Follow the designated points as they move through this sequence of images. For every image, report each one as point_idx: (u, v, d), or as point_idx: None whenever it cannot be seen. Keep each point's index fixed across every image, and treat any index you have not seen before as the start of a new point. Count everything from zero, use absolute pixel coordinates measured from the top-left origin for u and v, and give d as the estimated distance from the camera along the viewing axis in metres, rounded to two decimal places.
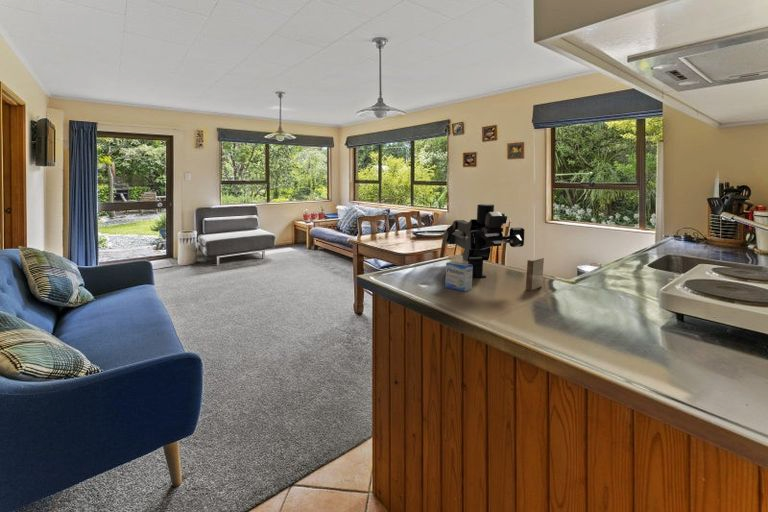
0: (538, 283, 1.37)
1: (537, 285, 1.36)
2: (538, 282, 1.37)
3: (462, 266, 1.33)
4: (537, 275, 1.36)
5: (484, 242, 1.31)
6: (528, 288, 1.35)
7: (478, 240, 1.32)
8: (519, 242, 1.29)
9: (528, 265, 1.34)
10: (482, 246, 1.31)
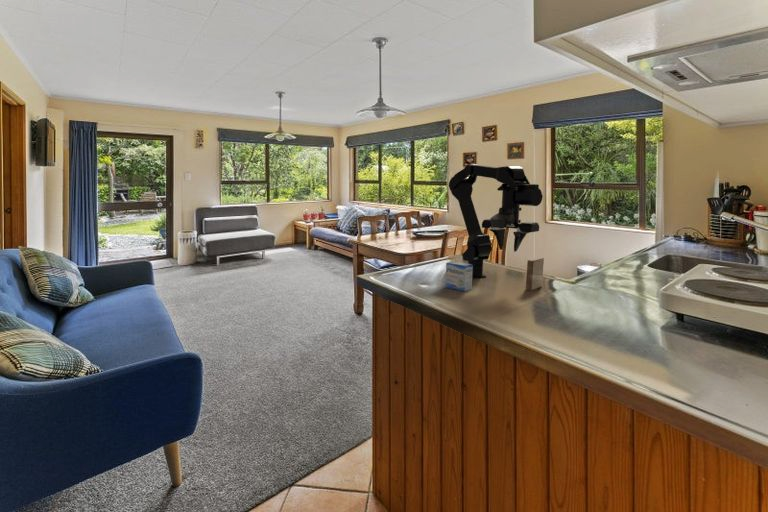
0: (538, 283, 1.37)
1: (537, 285, 1.36)
2: (538, 282, 1.37)
3: (462, 266, 1.33)
4: (537, 275, 1.36)
5: None
6: (528, 288, 1.35)
7: None
8: None
9: (528, 265, 1.34)
10: None
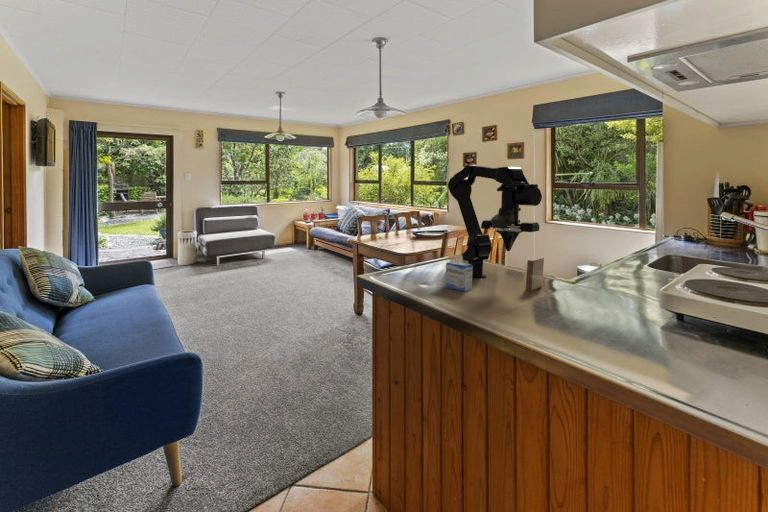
0: (538, 283, 1.37)
1: (537, 285, 1.36)
2: (538, 282, 1.37)
3: (462, 266, 1.33)
4: (537, 275, 1.36)
5: None
6: (528, 288, 1.35)
7: None
8: None
9: (528, 265, 1.34)
10: None
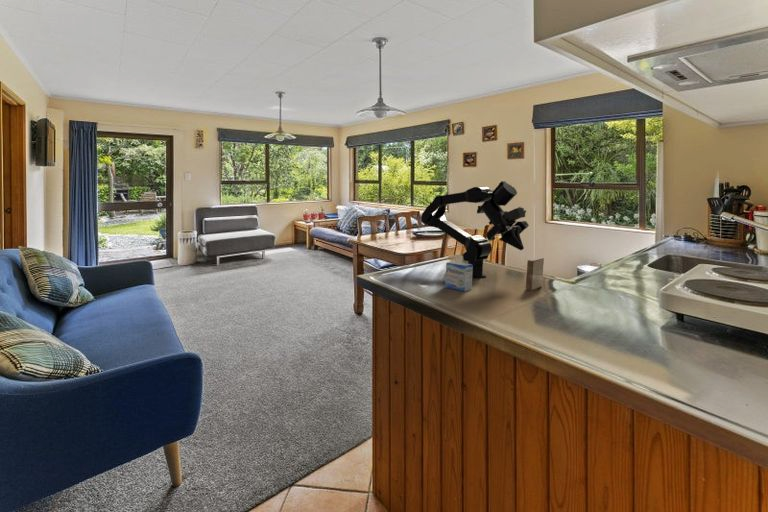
0: (538, 283, 1.37)
1: (537, 285, 1.36)
2: (538, 282, 1.37)
3: (462, 266, 1.33)
4: (537, 275, 1.36)
5: (512, 240, 1.40)
6: (528, 288, 1.35)
7: (507, 235, 1.39)
8: None
9: (528, 265, 1.34)
10: (507, 241, 1.40)
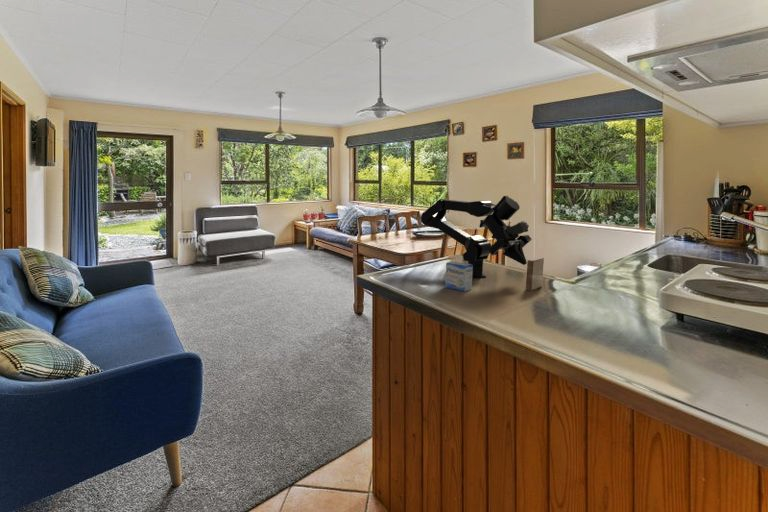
0: (538, 283, 1.37)
1: (537, 285, 1.36)
2: (538, 282, 1.37)
3: (462, 266, 1.33)
4: (537, 275, 1.36)
5: (515, 254, 1.40)
6: (528, 288, 1.35)
7: (510, 249, 1.39)
8: None
9: (528, 265, 1.34)
10: (510, 256, 1.40)
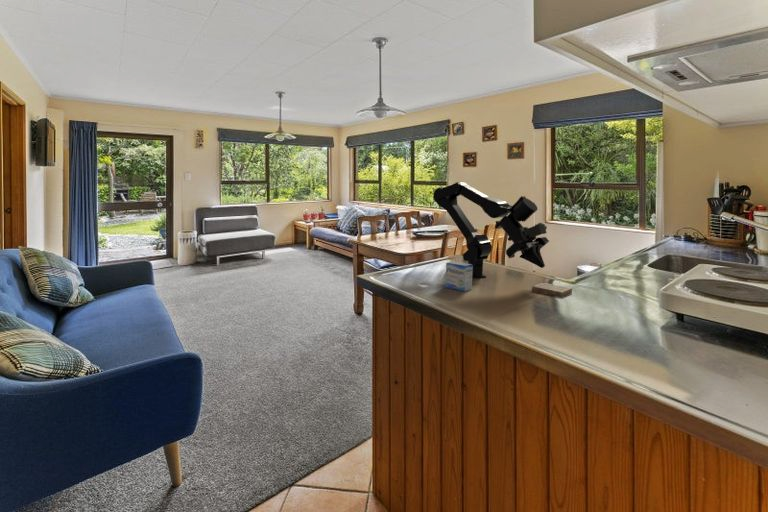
0: None
1: None
2: None
3: (462, 266, 1.33)
4: None
5: (532, 257, 1.35)
6: (533, 289, 1.34)
7: (527, 252, 1.35)
8: None
9: (556, 292, 1.28)
10: (528, 258, 1.36)
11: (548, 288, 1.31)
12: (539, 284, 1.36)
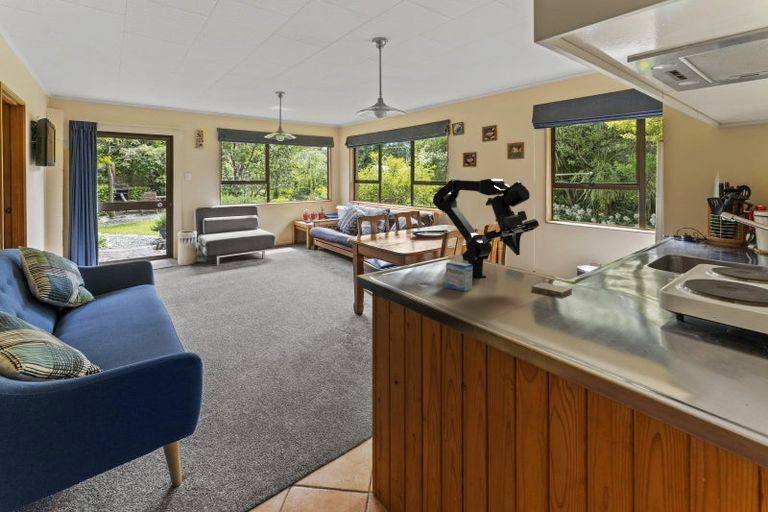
0: None
1: None
2: None
3: (462, 266, 1.33)
4: None
5: (509, 244, 1.39)
6: (533, 289, 1.34)
7: (504, 239, 1.39)
8: None
9: (556, 292, 1.28)
10: (507, 244, 1.41)
11: (548, 288, 1.31)
12: (539, 284, 1.36)
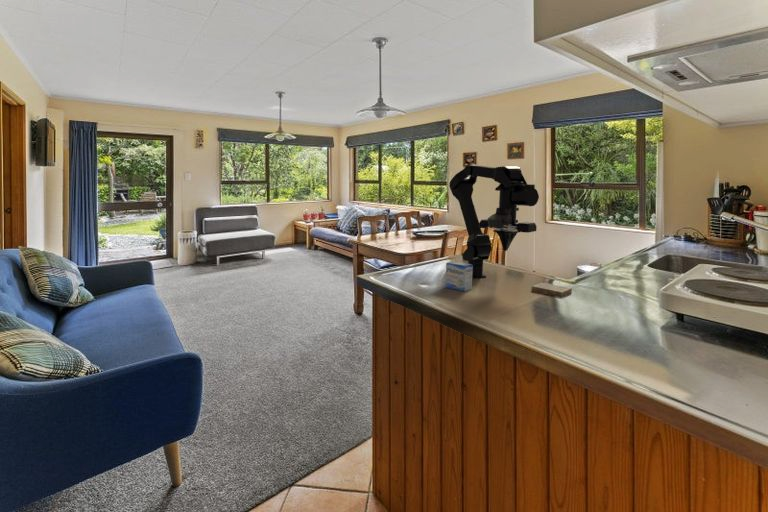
0: None
1: None
2: None
3: (462, 266, 1.33)
4: None
5: None
6: (533, 289, 1.34)
7: None
8: None
9: (556, 292, 1.28)
10: None
11: (548, 288, 1.31)
12: (539, 284, 1.36)
